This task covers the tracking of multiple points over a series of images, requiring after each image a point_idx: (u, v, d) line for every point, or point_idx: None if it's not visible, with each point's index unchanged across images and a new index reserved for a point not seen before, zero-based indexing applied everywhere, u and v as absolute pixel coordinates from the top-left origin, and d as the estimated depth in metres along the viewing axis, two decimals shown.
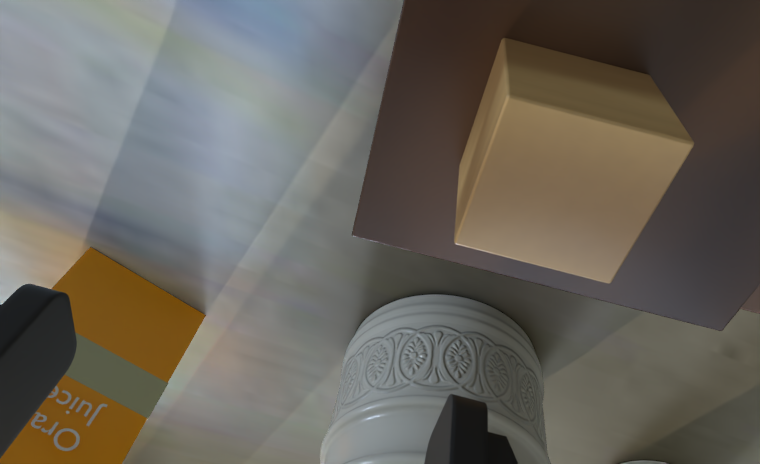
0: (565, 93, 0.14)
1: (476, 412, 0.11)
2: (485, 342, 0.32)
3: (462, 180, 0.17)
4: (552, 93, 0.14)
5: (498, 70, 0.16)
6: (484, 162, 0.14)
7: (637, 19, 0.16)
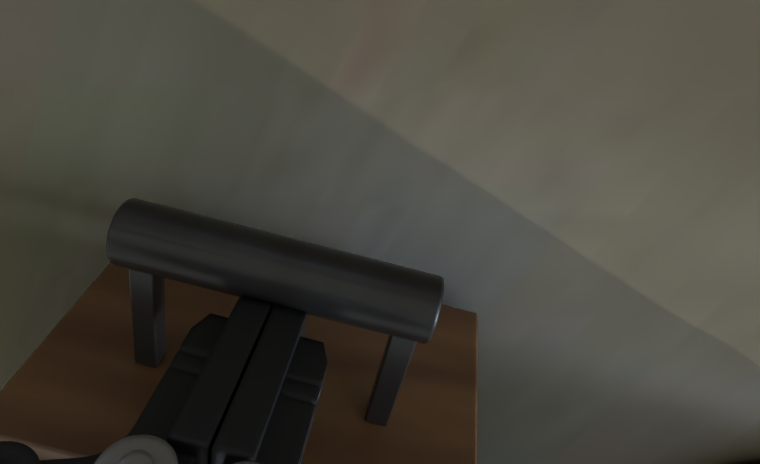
0: None
1: (292, 318, 0.12)
2: None
3: None
4: None
5: None
6: None
7: None
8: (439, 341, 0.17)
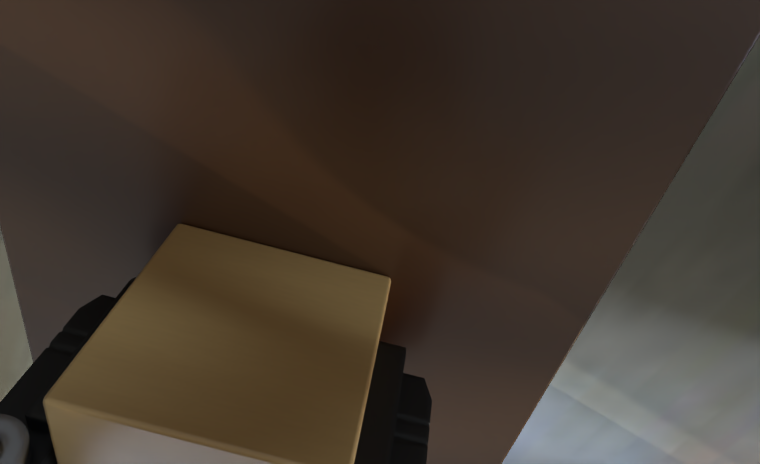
0: None
1: (394, 354, 0.12)
2: None
3: None
4: None
5: None
6: None
7: (117, 244, 0.12)
8: None
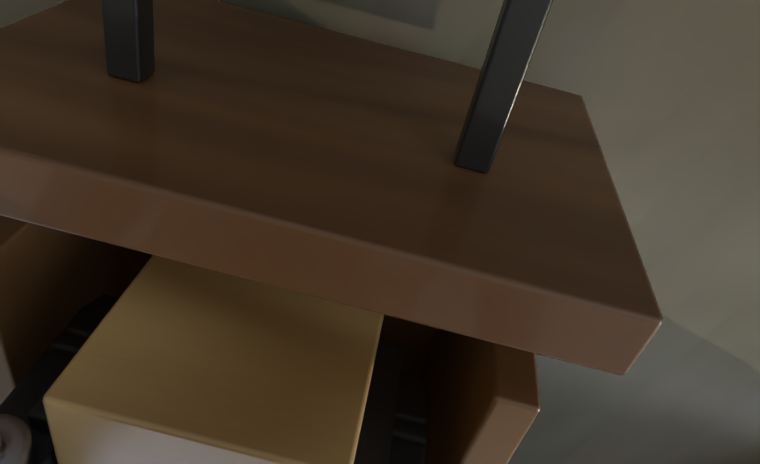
0: None
1: (393, 354, 0.12)
2: None
3: None
4: None
5: None
6: None
7: None
8: (539, 110, 0.12)
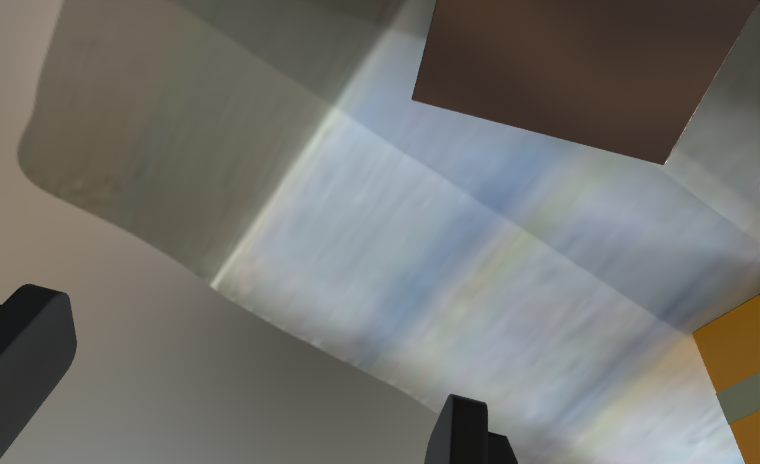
0: None
1: (476, 412, 0.11)
2: None
3: None
4: None
5: None
6: None
7: None
8: None
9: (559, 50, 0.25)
